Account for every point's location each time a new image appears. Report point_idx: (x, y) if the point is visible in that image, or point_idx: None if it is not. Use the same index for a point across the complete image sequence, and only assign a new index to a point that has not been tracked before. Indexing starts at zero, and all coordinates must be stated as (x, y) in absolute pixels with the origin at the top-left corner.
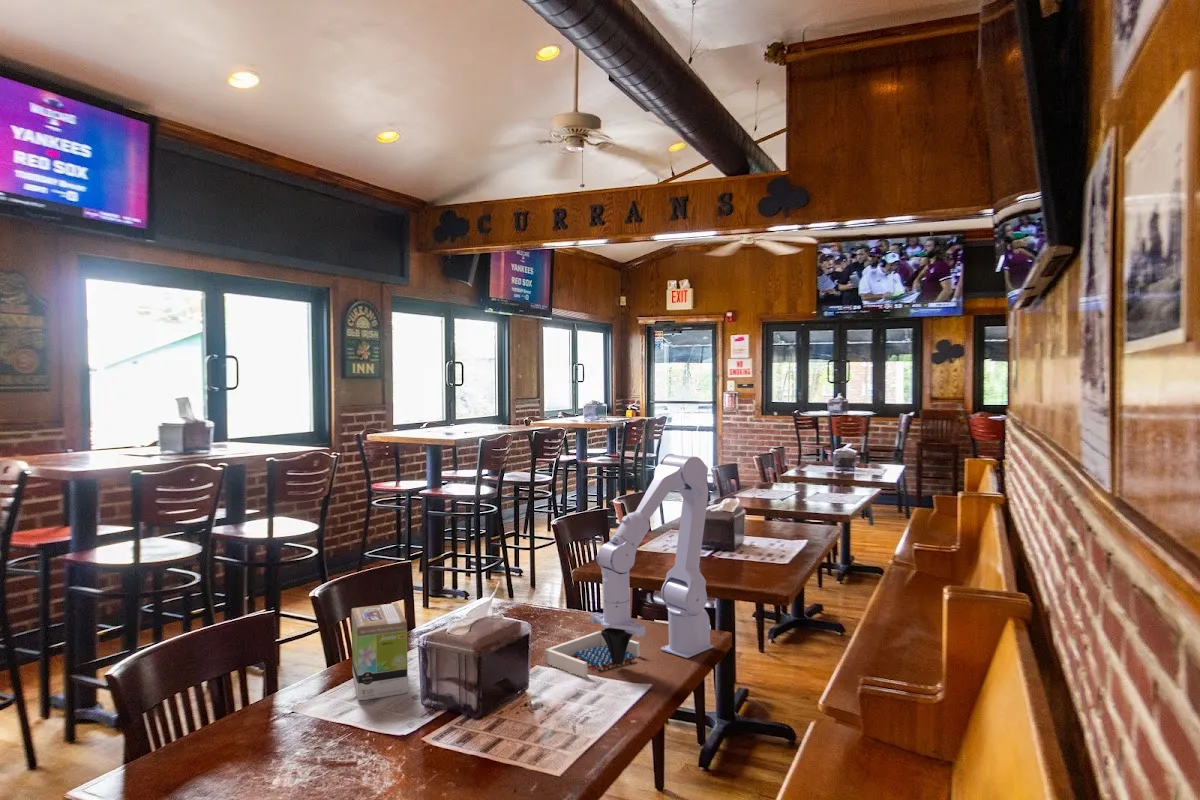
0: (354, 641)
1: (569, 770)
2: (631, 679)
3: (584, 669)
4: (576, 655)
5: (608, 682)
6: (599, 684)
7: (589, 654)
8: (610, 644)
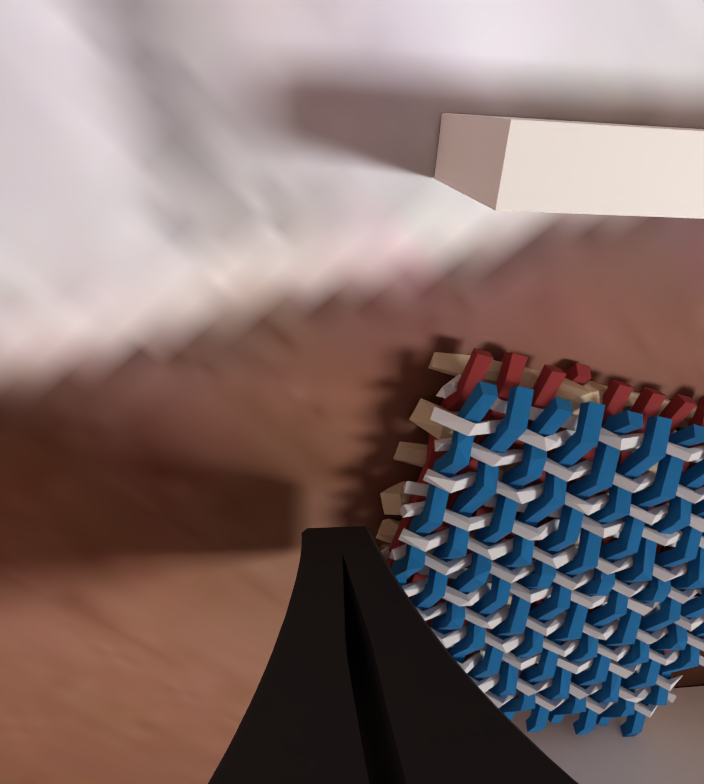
0: None
1: None
2: (25, 441)
3: (474, 128)
4: None
5: (121, 222)
6: (146, 91)
7: (695, 522)
8: (396, 709)
